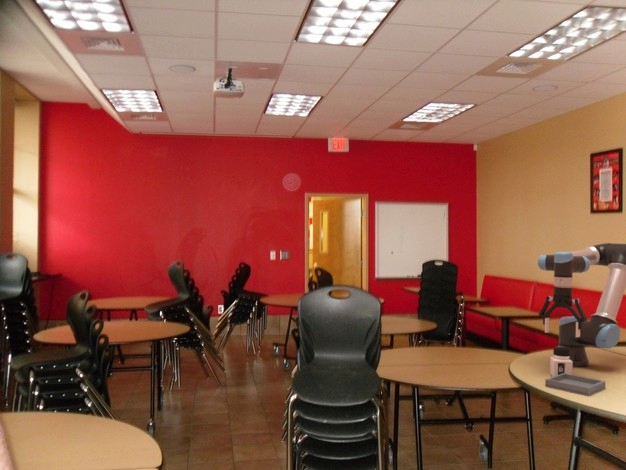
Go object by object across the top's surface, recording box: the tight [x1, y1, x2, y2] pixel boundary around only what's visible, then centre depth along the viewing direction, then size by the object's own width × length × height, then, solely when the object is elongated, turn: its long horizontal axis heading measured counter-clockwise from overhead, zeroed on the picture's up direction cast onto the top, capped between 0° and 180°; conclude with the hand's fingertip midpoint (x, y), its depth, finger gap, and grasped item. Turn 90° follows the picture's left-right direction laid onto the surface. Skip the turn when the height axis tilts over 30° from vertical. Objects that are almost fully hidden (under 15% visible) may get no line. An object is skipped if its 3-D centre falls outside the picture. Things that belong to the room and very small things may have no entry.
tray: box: [544, 373, 606, 397], centre depth 226 cm, size 17×17×3 cm
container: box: [549, 345, 574, 377], centre depth 244 cm, size 8×8×13 cm
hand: (562, 334), depth 244 cm, fingers open, 13 cm apart
